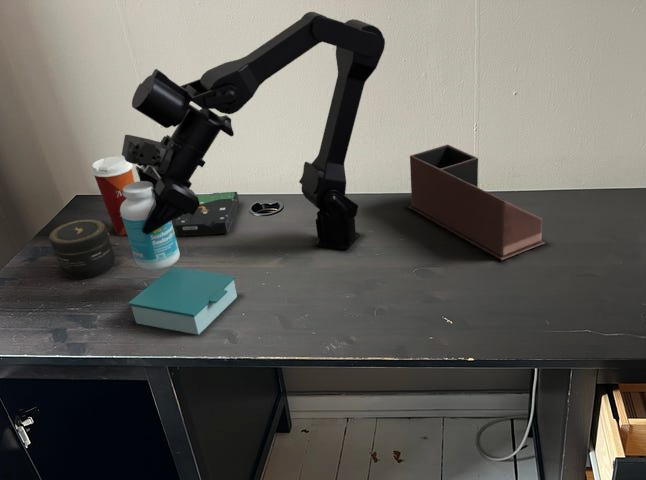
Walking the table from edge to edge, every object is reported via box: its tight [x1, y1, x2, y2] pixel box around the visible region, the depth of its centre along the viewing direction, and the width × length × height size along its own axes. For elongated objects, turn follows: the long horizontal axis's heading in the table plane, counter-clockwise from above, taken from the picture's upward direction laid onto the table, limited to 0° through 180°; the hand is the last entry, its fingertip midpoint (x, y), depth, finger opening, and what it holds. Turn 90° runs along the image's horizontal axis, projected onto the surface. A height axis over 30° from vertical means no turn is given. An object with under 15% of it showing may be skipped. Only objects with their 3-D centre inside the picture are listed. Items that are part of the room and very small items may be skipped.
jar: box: [48, 219, 115, 280], centre depth 134 cm, size 10×10×8 cm
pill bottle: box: [120, 180, 181, 271], centre depth 121 cm, size 8×7×14 cm
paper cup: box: [91, 155, 135, 236], centre depth 145 cm, size 8×8×14 cm
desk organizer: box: [408, 144, 546, 261], centre depth 140 cm, size 10×29×11 cm, turn 34°
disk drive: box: [174, 191, 240, 236], centre depth 151 cm, size 10×3×15 cm
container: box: [128, 266, 238, 336], centre depth 122 cm, size 14×12×4 cm
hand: (139, 224), depth 120 cm, fingers closed on pill bottle, 7 cm apart
